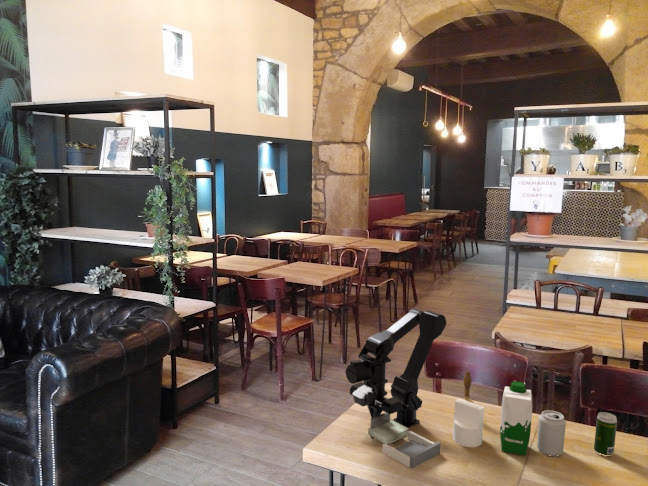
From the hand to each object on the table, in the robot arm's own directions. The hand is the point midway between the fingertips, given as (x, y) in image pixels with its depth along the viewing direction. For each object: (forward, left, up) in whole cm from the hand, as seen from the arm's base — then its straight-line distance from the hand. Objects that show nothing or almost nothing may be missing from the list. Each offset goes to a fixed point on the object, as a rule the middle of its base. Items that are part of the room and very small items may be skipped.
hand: (374, 422), depth 170 cm
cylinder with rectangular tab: (-20, +22, -4) cm, 30 cm away
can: (-34, +42, -4) cm, 54 cm away
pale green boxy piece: (0, +6, -3) cm, 7 cm away
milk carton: (-27, +34, -4) cm, 43 cm away
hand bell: (-34, +12, -4) cm, 36 cm away
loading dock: (0, +15, -4) cm, 16 cm away
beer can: (-46, +53, -4) cm, 70 cm away
